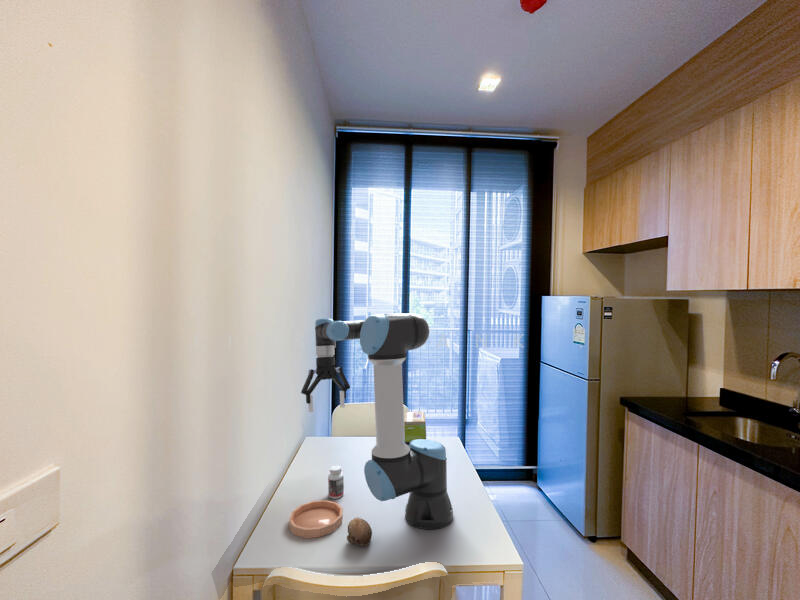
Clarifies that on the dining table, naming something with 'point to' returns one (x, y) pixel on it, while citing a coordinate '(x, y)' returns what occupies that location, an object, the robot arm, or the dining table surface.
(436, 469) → the robot arm
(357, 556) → the dining table surface
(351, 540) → the mushroom
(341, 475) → the pill bottle
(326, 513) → the bowl
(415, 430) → the tea box
